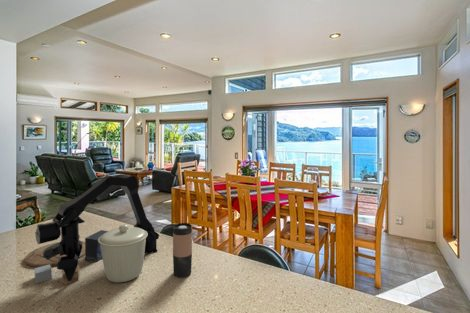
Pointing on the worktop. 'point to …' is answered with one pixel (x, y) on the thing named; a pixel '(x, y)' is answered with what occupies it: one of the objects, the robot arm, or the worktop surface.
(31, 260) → the trivet
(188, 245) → the travel mug
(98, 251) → the small box
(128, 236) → the canister
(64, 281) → the walnut block
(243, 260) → the worktop surface
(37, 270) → the slate block
